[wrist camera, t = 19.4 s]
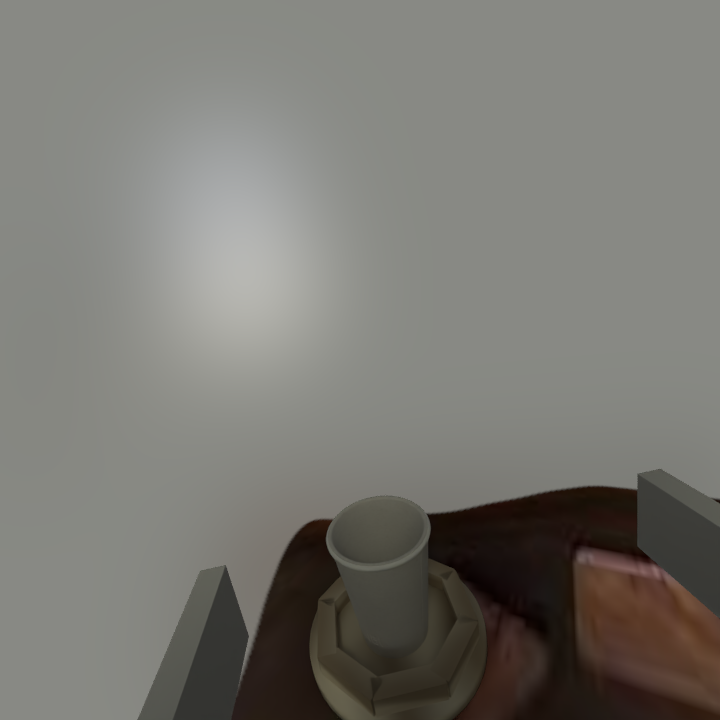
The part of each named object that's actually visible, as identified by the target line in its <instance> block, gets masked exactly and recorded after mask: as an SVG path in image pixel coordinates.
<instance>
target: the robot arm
mask: <svg viewBox="0 0 720 720" xmlns="http://www.w3.org/2000/svg"><path fill="white" fill-rule="evenodd" d="M638 547H639V548H640V549H641V550H642V551H644V552H645V553H646V554H647V555H648V556H649V557H650V558H651V559H653V560H654V561H655V562H656V563H657V564H658V565H659V566H661V567H662V568H663V569H664V570H665V571H666V572H667V573H669V574H670V575H671V576H672V577H673V578H674V579H675V580H677V581H678V582H679V583H680V584H681V585H682V586H683V587H684V588H686V589H687V590H688V591H689V592H690V593H691V594H692V595H694V596H695V597H696V598H697V599H698V600H699V601H700V602H702V603H703V604H704V605H705V606H706V607H707V608H708V609H709V610H711V611H712V612H713V613H714V614H715V615H716V616H717V617H719V618H720V504H719V503H718V502H716V501H714V500H712V499H711V498H709V497H707V496H706V495H704V494H702V493H700V492H699V491H697V490H695V489H694V488H692V487H690V486H689V485H687V484H685V483H684V482H682V481H680V480H678V479H677V478H675V477H673V476H672V475H670V474H668V473H666V472H665V471H663V470H661V469H658V470H653V471H649V472H644V473H640V474H638ZM248 637H249V636H248V632H247V629H246V626H245V623H244V620H243V617H242V614H241V611H240V607H239V604H238V601H237V598H236V595H235V592H234V589H233V586H232V583H231V580H230V577H229V574H228V571H227V568H226V565H224V566H220V567H215V568H211V569H206V570H202V571H200V573H199V575H198V578H197V580H196V582H195V585H194V587H193V589H192V592H191V594H190V597H189V599H188V601H187V604H186V606H185V609H184V611H183V614H182V616H181V618H180V620H179V623H178V625H177V627H176V630H175V632H174V635H173V637H172V639H171V642H170V644H169V647H168V649H167V651H166V654H165V656H164V658H163V661H162V663H161V666H160V668H159V670H158V673H157V675H156V678H155V680H154V683H153V685H152V687H151V690H150V692H149V694H148V697H147V699H146V701H145V704H144V706H143V708H142V711H141V713H140V715H139V718H138V720H231V717H232V713H233V708H234V703H235V699H236V694H237V689H238V684H239V680H240V675H241V670H242V666H243V661H244V656H245V651H246V647H247V642H248Z"/></svg>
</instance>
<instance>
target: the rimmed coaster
mask: <svg viewBox="0 0 720 720" xmlns="http://www.w3.org/2000/svg"><path fill="white" fill-rule="evenodd" d="M310 658H311V664H312V668H313V672H314V676H315V679H316V682H317V685H318V688H319V690H320V692H321V694H322V696H323V698H324V699H325V701H326V702H327V704H328V705H329V706H330V708H331V709H332V710H333V711H334V712H335V713H336V714H337V715H338V716H339V717H340V718H341V719H342V720H452V719H454V718H455V717H456V716H457V715H458V714H459V713H460V712H461V711H462V710H463V709H464V708H465V707H466V706H467V705H468V704H469V702H470V701H471V699H472V698H473V697H474V695H475V693H476V691H477V689H478V687H479V685H480V684H481V681H482V678H483V675H484V672H485V667H486V661H487V637H486V628H485V622H484V618H483V614H482V612H481V609H480V607H479V604H478V603H477V601H476V599H475V597H474V595H473V594H472V593H471V591H470V590H469V589H468V587H467V586H466V585H465V584H464V583H463V582H462V581H461V580H460V579H459V577H458V575H457V572H456V570H454V569H453V568H451V567H448V566H446V565H443V564H441V563H439V562H436V561H434V560H431V559H429V558H428V633H427V636H426V639H425V641H424V642H423V643H422V645H421V646H420V647H419V648H418V649H417V650H416V651H415V652H413V653H412V654H410V655H408V656H405V657H402V658H394V659H393V658H386V657H382V656H380V655H378V654H376V653H375V652H374V651H372V650H371V649H370V647H369V646H368V645H367V643H366V641H365V639H364V636H363V633H362V631H361V628H360V625H359V623H358V620H357V617H356V615H355V612H354V609H353V607H352V604H351V601H350V598H349V596H348V593H347V590H346V588H345V585H344V582H343V580H342V577H341V576H340V577H339V578H338V579H337V580H336V581H335V582H334V584H333V585H332V586H331V587H330V588H329V589H328V590H327V591H326V592H325V593H324V594H323V595H322V596H321V597H320V598H319V601H318V611H317V613H316V615H315V618H314V621H313V624H312V629H311V634H310Z"/></svg>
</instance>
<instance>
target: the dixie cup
mask: <svg viewBox="0 0 720 720" xmlns="http://www.w3.org/2000/svg"><path fill="white" fill-rule="evenodd" d="M430 530H431V527H430V521H429V518H428V516H427V514H426V513H425V512H424V510H423V509H422V508H421V507H419V506H418V505H417V504H415V503H414V502H412V501H409V500H407V499H404V498H400V497H395V496H376V497H370V498H366V499H363V500H360V501H358V502H355V503H353V504H351V505H350V506H348V507H346V508H345V509H344V510H342V511H341V512H340V513H339V514H338V515H337V516H336V517H335V518H334V520H333V521H332V522H331V524H330V526H329V528H328V531H327V536H326V543H327V547H328V550H329V552H330V554H331V555H332V557H333V558H334V559H335V561H336V564H337V566H338V569H339V572H340V574H341V577H342V580H343V582H344V585H345V588H346V590H347V593H348V596H349V598H350V601H351V604H352V607H353V609H354V612H355V615H356V617H357V620H358V623H359V625H360V628H361V631H362V633H363V636H364V639H365V641H366V643H367V645H368V646H369V647H370V649H371V650H372V651H374V652H375V653H376V654H378V655H380V656H382V657H386V658H393V659H394V658H402V657H405V656H408V655H410V654H412V653H413V652H415V651H416V650H417V649H418V648H419V647H420V646H421V645H422V643H423V642H424V641H425V639H426V636H427V633H428V539H429V536H430Z"/></svg>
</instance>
